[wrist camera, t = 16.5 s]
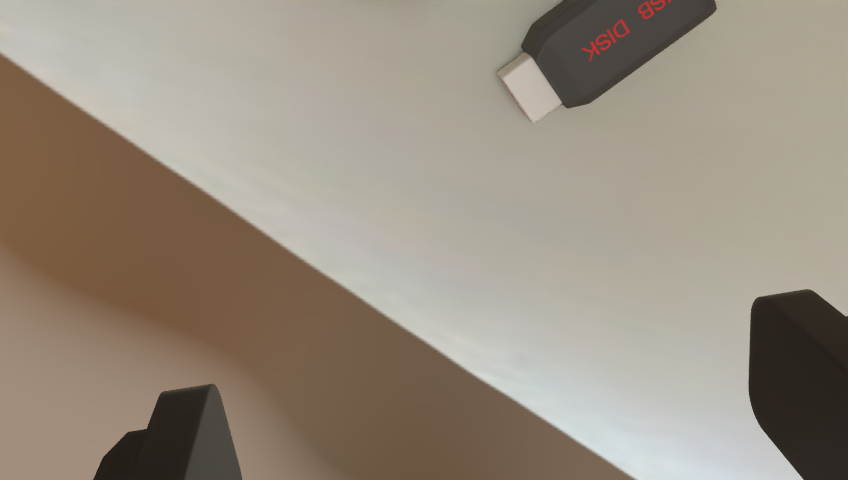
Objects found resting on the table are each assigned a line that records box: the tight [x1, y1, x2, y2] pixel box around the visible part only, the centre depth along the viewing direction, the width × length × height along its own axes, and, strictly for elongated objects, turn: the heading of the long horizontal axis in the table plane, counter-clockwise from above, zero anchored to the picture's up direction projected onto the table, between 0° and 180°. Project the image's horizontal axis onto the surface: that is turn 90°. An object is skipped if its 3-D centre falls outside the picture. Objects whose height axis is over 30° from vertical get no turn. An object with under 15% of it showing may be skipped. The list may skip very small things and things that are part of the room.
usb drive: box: [497, 0, 717, 124], centre depth 45 cm, size 5×12×3 cm, turn 126°
